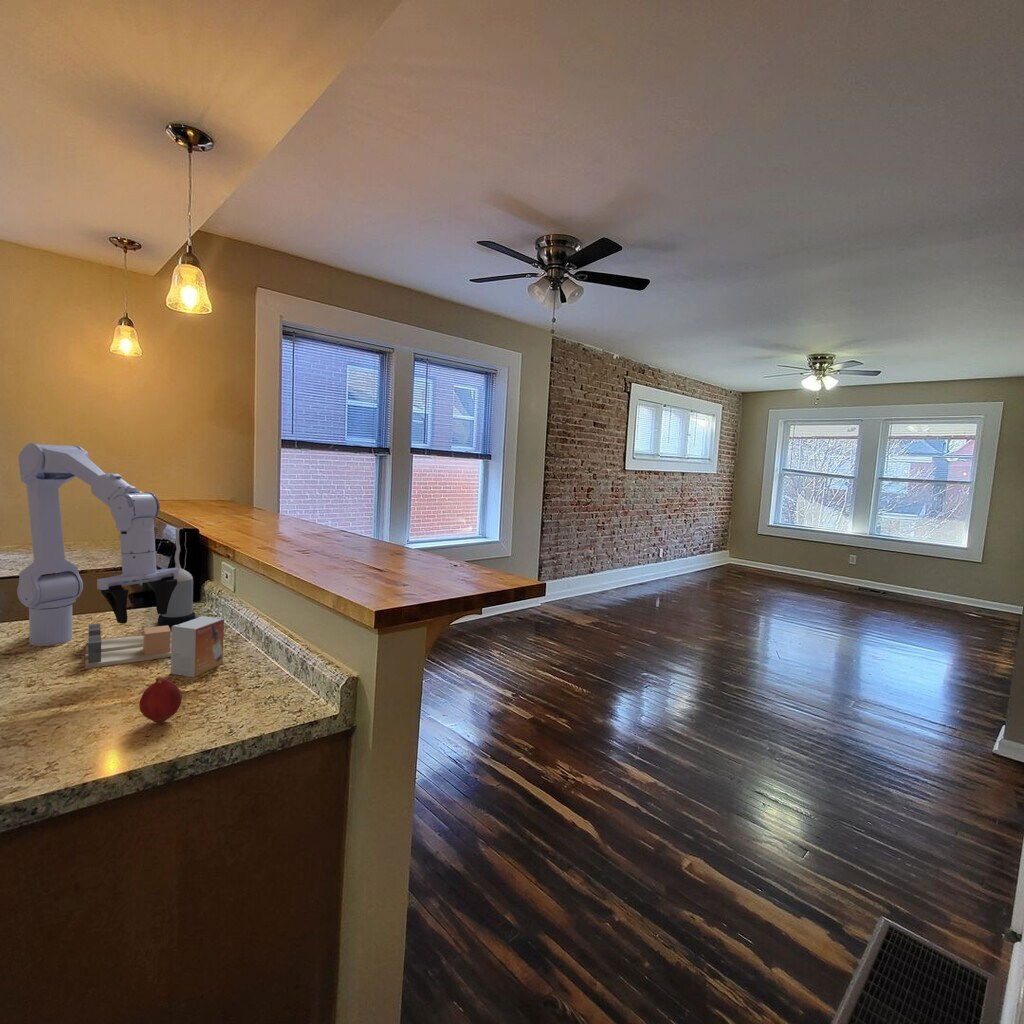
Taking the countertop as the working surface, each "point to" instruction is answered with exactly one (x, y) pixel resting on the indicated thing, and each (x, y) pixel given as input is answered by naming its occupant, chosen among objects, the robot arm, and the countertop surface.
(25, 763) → the countertop surface
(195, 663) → the small box
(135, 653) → the near strip
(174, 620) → the humidifier
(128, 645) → the far strip
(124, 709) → the countertop surface
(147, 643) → the block
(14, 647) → the countertop surface
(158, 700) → the onion
